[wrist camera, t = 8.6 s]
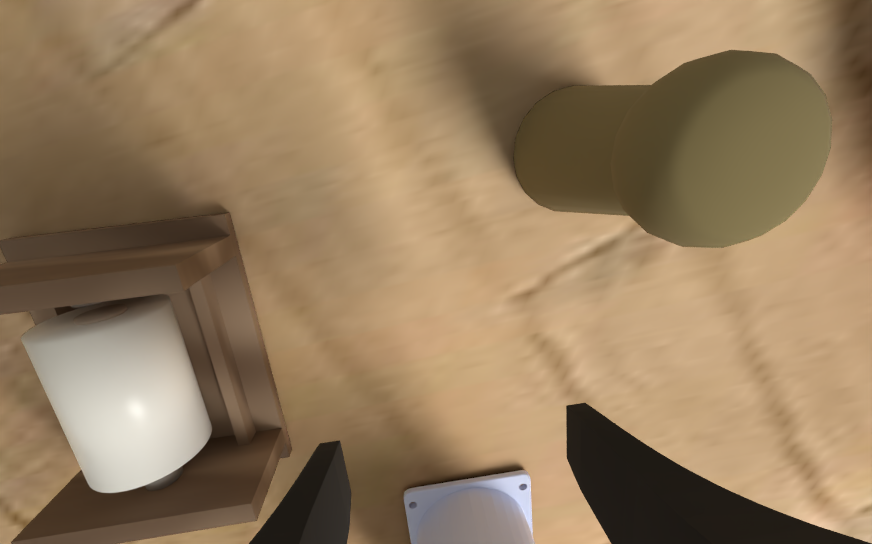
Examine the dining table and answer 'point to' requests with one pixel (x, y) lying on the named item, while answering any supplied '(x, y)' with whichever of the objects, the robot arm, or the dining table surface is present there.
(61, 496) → the holder
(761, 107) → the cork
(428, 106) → the dining table surface
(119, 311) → the roll
